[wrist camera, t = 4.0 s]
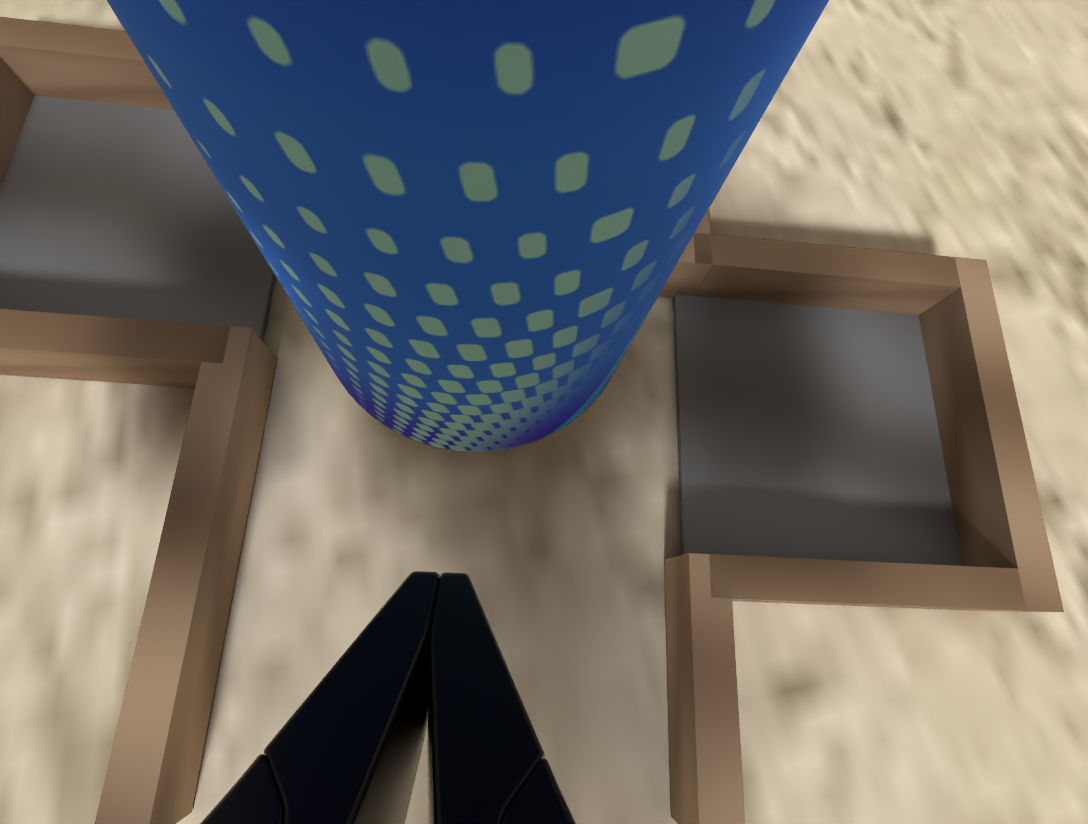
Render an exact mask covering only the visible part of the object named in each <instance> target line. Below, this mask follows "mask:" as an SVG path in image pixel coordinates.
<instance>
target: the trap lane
mask: <svg viewBox="0 0 1088 824" xmlns="http://www.w3.org/2000/svg"><path fill="white" fill-rule="evenodd" d="M274 278H275V274H274V273H273V271H272V269H271V268H270V266H269V264H268V263H267V261H266V259H265V258H264V256H263V255H262V253H261V251H260V250H259V248H258V246H257V245H256V243H255V241H254V240H253V238H252V237H251V235H250V233H249V232H248V230H247V228H246V227H245V225H244V224H243V222H242V220H241V219H240V217H239V215H238V214H237V212H236V210H235V209H234V207H233V206H232V204H231V202H230V201H229V199H228V197H227V196H226V194H225V192H224V191H223V189H222V188H221V186H220V184H219V183H218V181H217V179H216V178H215V176H214V175H213V173H212V171H211V170H210V168H209V166H208V165H207V163H206V161H205V160H204V158H203V157H202V155H201V153H200V152H199V150H198V148H197V147H196V145H195V143H194V142H193V140H192V139H191V137H190V135H189V134H188V132H187V130H186V129H185V127H184V126H183V124H182V122H181V121H180V119H179V117H178V116H177V114H176V112H175V111H174V109H173V108H172V106H171V104H170V103H169V101H168V99H167V98H166V96H165V94H164V93H163V91H162V90H161V88H160V86H159V85H158V83H157V81H156V80H155V78H154V77H153V75H152V73H151V72H150V70H149V68H148V67H147V65H146V63H145V62H144V60H143V59H142V57H141V55H140V54H139V52H138V50H137V49H136V47H135V45H134V44H133V42H132V41H131V39H130V37H129V36H128V34H127V32H126V31H120V30H111V29H102V28H94V27H85V26H76V25H67V24H59V23H50V22H41V21H32V20H24V19H15V18H6V17H0V375H14V376H29V377H44V378H59V379H74V380H90V381H105V382H120V383H135V384H150V385H165V386H180V387H195V391H194V396H193V400H192V404H191V409H190V413H189V417H188V422H187V426H186V430H185V435H184V439H183V443H182V448H181V452H180V456H179V461H178V465H177V469H176V474H175V478H174V482H173V487H172V491H171V495H170V500H169V504H168V508H167V513H166V517H165V522H164V526H163V530H162V535H161V539H160V543H159V548H158V552H157V556H156V561H155V565H154V569H153V574H152V578H151V582H150V587H149V591H148V595H147V600H146V604H145V608H144V613H143V617H142V621H141V626H140V630H139V634H138V639H137V643H136V647H135V652H134V656H133V660H132V665H131V669H130V673H129V678H128V682H127V686H126V691H125V695H124V699H123V704H122V708H121V713H120V717H119V721H118V726H117V730H116V734H115V739H114V743H113V747H112V752H111V756H110V760H109V765H108V769H107V773H106V778H105V782H104V786H103V791H102V795H101V799H100V804H99V808H98V812H97V817H96V821H95V824H176V823H177V822H179V821H180V820H181V819H183V818H184V817H186V816H187V815H188V814H190V813H191V812H192V808H193V802H194V797H195V792H196V786H197V781H198V776H199V771H200V765H201V760H202V755H203V749H204V744H205V739H206V733H207V728H208V723H209V717H210V712H211V707H212V702H213V696H214V691H215V686H216V680H217V675H218V670H219V664H220V659H221V654H222V648H223V643H224V638H225V632H226V627H227V622H228V617H229V611H230V606H231V601H232V595H233V590H234V585H235V579H236V574H237V569H238V563H239V558H240V553H241V548H242V542H243V537H244V532H245V526H246V521H247V516H248V510H249V505H250V500H251V494H252V489H253V484H254V479H255V473H256V468H257V463H258V457H259V452H260V447H261V441H262V436H263V431H264V425H265V420H266V415H267V410H268V404H269V399H270V394H271V388H272V383H273V378H274V372H275V367H276V362H277V358H276V357H275V356H274V355H273V354H272V352H271V351H270V350H269V349H268V347H267V346H266V345H265V344H264V342H263V341H262V338H263V333H264V328H265V323H266V318H267V313H268V308H269V303H270V298H271V293H272V288H273V283H274ZM659 296H660V297H672V298H673V299H674V328H675V357H676V386H677V415H678V444H679V473H680V502H681V531H682V555H680V556H676V557H672V558H668V559H665V598H666V637H667V676H668V715H669V754H670V794H671V817H672V818H673V819H674V820H675V821H676V822H677V823H678V824H745V815H744V798H743V781H742V764H741V747H740V729H739V712H738V695H737V678H736V661H735V644H734V626H733V609H732V601H751V602H776V603H801V604H826V605H851V606H876V607H900V608H925V609H950V610H975V611H1006V612H1064V610H1063V606H1062V601H1061V597H1060V592H1059V588H1058V583H1057V579H1056V574H1055V570H1054V565H1053V561H1052V556H1051V551H1050V547H1049V542H1048V538H1047V533H1046V529H1045V524H1044V520H1043V515H1042V511H1041V506H1040V502H1039V497H1038V493H1037V488H1036V483H1035V479H1034V474H1033V470H1032V465H1031V461H1030V456H1029V452H1028V447H1027V443H1026V438H1025V434H1024V429H1023V425H1022V420H1021V415H1020V411H1019V406H1018V402H1017V397H1016V393H1015V388H1014V384H1013V379H1012V375H1011V370H1010V366H1009V361H1008V357H1007V352H1006V347H1005V343H1004V338H1003V334H1002V329H1001V325H1000V320H999V316H998V311H997V307H996V302H995V298H994V293H993V288H992V284H991V279H990V275H989V270H988V266H987V261H986V260H979V259H969V258H958V257H948V256H937V255H926V254H916V253H905V252H894V251H884V250H873V249H863V248H852V247H841V246H831V245H820V244H810V243H799V242H788V241H778V240H767V239H756V238H746V237H735V236H725V235H714V234H711V232H710V214H709V209H708V211H707V212H706V214H705V216H704V218H703V219H702V221H701V223H700V225H699V226H698V228H697V230H696V231H695V233H694V235H693V237H692V238H691V240H690V242H689V244H688V245H687V247H686V249H685V250H684V252H683V254H682V256H681V257H680V259H679V261H678V263H677V264H676V266H675V268H674V270H673V271H672V273H671V275H670V276H669V278H668V280H667V282H666V283H665V285H664V287H663V289H662V290H661V292H660V294H659Z"/></svg>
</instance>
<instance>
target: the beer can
mask: <svg viewBox="0 0 1088 824" xmlns="http://www.w3.org/2000/svg"><path fill="white" fill-rule="evenodd" d="M107 1H108V3H109V5H110V6H111V8H112V10H113V11H114V13H115V14H116V16H117V18H118V19H119V21H120V23H121V24H122V26H123V28H124V29H125V31H126V32H127V34H128V36H129V37H130V39H131V41H132V42H133V44H134V45H135V47H136V49H137V50H138V52H139V54H140V55H141V57H142V59H143V60H144V62H145V63H146V65H147V67H148V68H149V70H150V72H151V73H152V75H153V77H154V78H155V80H156V81H157V83H158V85H159V86H160V88H161V90H162V91H163V93H164V94H165V96H166V98H167V99H168V101H169V103H170V104H171V106H172V108H173V109H174V111H175V112H176V114H177V116H178V117H179V119H180V121H181V122H182V124H183V126H184V127H185V129H186V130H187V132H188V134H189V135H190V137H191V139H192V140H193V142H194V143H195V145H196V147H197V148H198V150H199V152H200V153H201V155H202V157H203V158H204V160H205V161H206V163H207V165H208V166H209V168H210V170H211V171H212V173H213V175H214V176H215V178H216V179H217V181H218V183H219V184H220V186H221V188H222V189H223V191H224V192H225V194H226V196H227V197H228V199H229V201H230V202H231V204H232V206H233V207H234V209H235V210H236V212H237V214H238V215H239V217H240V219H241V220H242V222H243V224H244V225H245V227H246V228H247V230H248V232H249V233H250V235H251V237H252V238H253V240H254V241H255V243H256V245H257V246H258V248H259V250H260V251H261V253H262V255H263V256H264V258H265V259H266V261H267V263H268V264H269V266H270V268H271V269H272V271H273V273H274V274H275V276H276V277H277V279H278V281H279V282H280V284H281V286H282V287H283V289H284V291H285V292H286V294H287V295H288V297H289V299H290V300H291V302H292V304H293V305H294V307H295V308H296V310H297V312H298V313H299V315H300V317H301V318H302V320H303V322H304V323H305V325H306V326H307V328H308V330H309V331H310V333H311V335H312V336H313V338H314V340H315V341H316V343H317V344H318V346H319V348H320V349H321V351H322V353H323V354H324V356H325V357H326V359H327V361H328V362H329V364H330V366H331V367H332V369H333V371H334V372H335V374H336V375H337V377H338V379H339V380H340V382H341V383H342V385H343V386H344V387H345V389H346V390H347V392H348V393H349V394H350V395H351V396H352V397H353V398H354V400H355V401H356V402H357V403H358V404H359V405H360V406H361V407H362V408H363V409H364V410H366V411H367V412H368V413H369V414H370V415H371V416H373V417H374V418H375V419H377V420H378V421H379V422H381V423H382V424H384V425H385V426H387V427H389V428H390V429H392V430H394V431H395V432H397V433H399V434H402V435H404V436H406V437H408V438H410V439H412V440H415V441H418V442H421V443H424V444H426V445H430V446H434V447H438V448H442V449H449V450H455V451H468V452H485V451H497V450H504V449H509V448H514V447H518V446H522V445H525V444H528V443H531V442H534V441H537V440H539V439H541V438H544V437H546V436H548V435H550V434H552V433H554V432H556V431H557V430H559V429H561V428H563V427H564V426H566V425H567V424H569V423H570V422H571V421H573V420H574V419H576V418H577V417H578V416H579V415H580V414H582V413H583V412H584V411H585V410H586V409H587V408H588V407H589V406H590V405H591V404H592V403H593V402H594V401H595V400H596V399H597V397H598V396H599V395H600V394H601V392H602V391H603V390H604V388H605V387H606V385H607V384H608V382H609V380H610V379H611V377H612V375H613V373H614V372H615V370H616V368H617V367H618V365H619V363H620V361H621V360H622V358H623V356H624V354H625V353H626V351H627V349H628V347H629V346H630V344H631V342H632V341H633V339H634V337H635V335H636V334H637V332H638V330H639V328H640V327H641V325H642V323H643V321H644V320H645V318H646V316H647V315H648V313H649V311H650V309H651V308H652V306H653V304H654V302H655V301H656V299H657V297H658V296H659V294H660V292H661V290H662V289H663V287H664V285H665V283H666V282H667V280H668V278H669V276H670V275H671V273H672V271H673V270H674V268H675V266H676V264H677V263H678V261H679V259H680V257H681V256H682V254H683V252H684V250H685V249H686V247H687V245H688V244H689V242H690V240H691V238H692V237H693V235H694V233H695V231H696V230H697V228H698V226H699V225H700V223H701V221H702V219H703V218H704V216H705V214H706V212H707V211H708V209H709V207H710V205H711V204H712V202H713V200H714V199H715V197H716V195H717V193H718V192H719V190H720V188H721V186H722V185H723V183H724V181H725V179H726V178H727V176H728V174H729V173H730V171H731V169H732V167H733V166H734V164H735V162H736V160H737V159H738V157H739V155H740V153H741V152H742V150H743V148H744V147H745V145H746V143H747V141H748V140H749V138H750V136H751V134H752V133H753V131H754V129H755V128H756V126H757V124H758V122H759V121H760V119H761V117H762V115H763V114H764V112H765V110H766V108H767V107H768V105H769V103H770V102H771V100H772V98H773V96H774V95H775V93H776V91H777V89H778V88H779V86H780V84H781V82H782V81H783V79H784V77H785V76H786V74H787V72H788V70H789V69H790V67H791V65H792V63H793V62H794V60H795V58H796V57H797V55H798V53H799V51H800V50H801V48H802V46H803V44H804V43H805V41H806V39H807V37H808V36H809V34H810V32H811V31H812V29H813V27H814V25H815V24H816V22H817V20H818V18H819V17H820V15H821V13H822V11H823V10H824V8H825V6H826V5H827V3H828V1H829V0H107Z"/></svg>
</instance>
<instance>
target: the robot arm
mask: <svg viewBox="0 0 1088 824" xmlns="http://www.w3.org/2000/svg"><path fill="white" fill-rule="evenodd" d="M427 720H428V824H576V823H575V821H574V819H573V817H572V815H571V812H570V810H569V808H568V806H567V804H566V802H565V799H564V797H563V795H562V793H561V791H560V789H559V787H558V784H557V782H556V780H555V777H554V775H553V773H552V770H551V768H550V765H549V763H548V761H547V760H546V759H544V752H543V750H542V747H541V745H540V743H539V740H538V738H537V736H536V733H535V731H534V728H533V726H532V724H531V721H530V719H529V717H528V714H527V712H526V710H525V707H524V705H523V703H522V700H521V698H520V695H519V693H518V691H517V688H516V686H515V684H514V681H513V679H512V677H511V674H510V672H509V670H508V667H507V665H506V662H505V660H504V658H503V655H502V653H501V651H500V648H499V646H498V644H497V641H496V639H495V637H494V634H493V632H492V629H491V627H490V625H489V622H488V620H487V618H486V615H485V613H484V611H483V608H482V606H481V603H480V601H479V599H478V596H477V594H476V592H475V589H474V587H473V585H472V582H471V580H470V578H469V576H468V575H467V574H464V573H443V574H441V576H439V574H438V573H436V572H419V571H415V572H412V573H411V574H410V575H409V576H408V577H407V578H406V580H405V581H404V582H403V583H402V584H401V586H400V587H399V588H398V589H397V590H396V592H395V593H394V594H393V595H392V596H391V598H390V599H389V600H388V601H387V602H386V604H385V605H384V606H383V607H382V608H381V610H380V611H379V612H378V613H377V614H376V616H375V617H374V618H373V619H372V621H371V622H370V623H369V624H368V625H367V627H366V628H365V629H364V630H363V631H362V633H361V634H360V635H359V636H358V637H357V639H356V640H355V641H354V642H353V643H352V645H351V646H350V647H349V648H348V649H347V651H346V652H345V653H344V654H343V655H342V657H341V658H340V659H339V660H338V661H337V663H336V664H335V665H334V666H333V667H332V669H331V670H330V671H329V672H328V673H327V675H326V676H325V677H324V678H323V679H322V681H321V682H320V683H319V684H318V685H317V687H316V688H315V689H314V690H313V692H312V693H311V694H310V695H309V696H308V698H307V699H306V700H305V701H304V702H303V704H302V705H301V706H300V707H299V708H298V710H297V711H296V712H295V713H294V714H293V716H292V717H291V718H290V719H289V720H288V722H287V723H286V724H285V725H284V726H283V728H282V729H281V730H280V731H279V732H278V734H277V735H276V736H275V737H274V738H273V740H272V741H271V742H270V743H269V744H268V746H267V747H266V748H265V750H264V754H261V755H259V756H258V757H257V758H256V760H255V761H254V762H253V763H252V764H251V766H250V767H249V768H248V769H247V771H246V772H245V773H244V774H243V775H242V777H241V778H240V779H239V780H238V781H237V783H236V784H235V785H234V786H233V787H232V788H231V789H230V791H229V792H228V793H227V794H226V795H225V796H224V797H223V799H222V800H221V801H220V802H219V803H218V804H217V805H216V807H215V808H214V809H213V810H212V811H211V812H210V813H209V815H208V816H207V817H206V818H205V819H204V820H203V821H202V822H201V824H405V820H406V815H407V811H408V807H409V802H410V798H411V794H412V789H413V785H414V781H415V776H416V772H417V768H418V763H419V759H420V755H421V750H422V746H423V741H424V737H425V732H426V727H427Z"/></svg>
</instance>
